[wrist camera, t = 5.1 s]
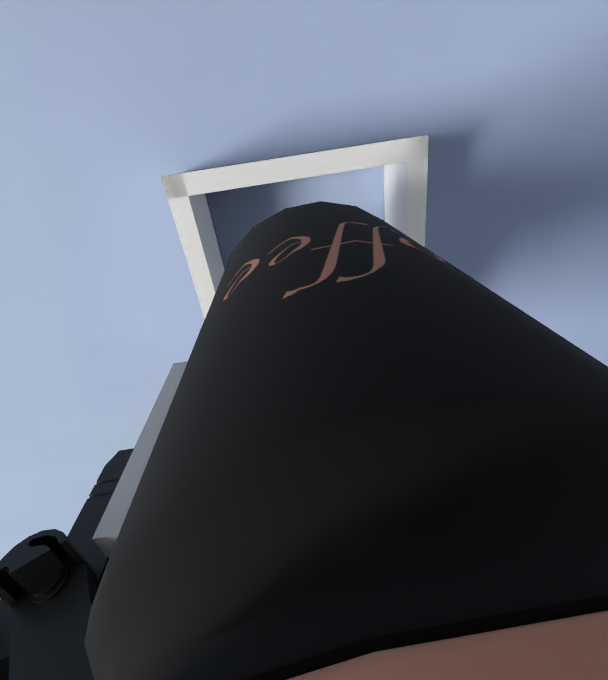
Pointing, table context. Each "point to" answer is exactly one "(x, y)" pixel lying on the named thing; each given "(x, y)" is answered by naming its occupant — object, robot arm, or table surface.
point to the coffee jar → (365, 479)
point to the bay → (190, 187)
